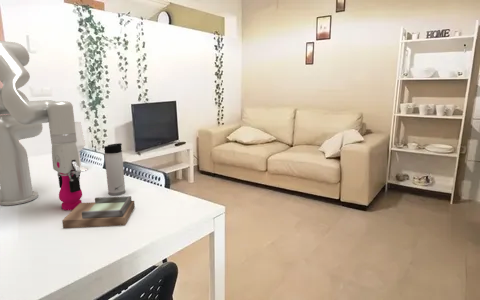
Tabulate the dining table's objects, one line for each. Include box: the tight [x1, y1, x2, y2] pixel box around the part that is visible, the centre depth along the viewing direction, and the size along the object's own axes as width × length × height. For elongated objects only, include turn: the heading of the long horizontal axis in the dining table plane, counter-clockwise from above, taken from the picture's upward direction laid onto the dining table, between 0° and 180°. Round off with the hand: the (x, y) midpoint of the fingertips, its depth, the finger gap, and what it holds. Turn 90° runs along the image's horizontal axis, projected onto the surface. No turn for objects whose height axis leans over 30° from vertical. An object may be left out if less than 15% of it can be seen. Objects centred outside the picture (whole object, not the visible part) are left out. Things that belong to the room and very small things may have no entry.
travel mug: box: [103, 142, 126, 197], centre depth 123 cm, size 6×7×20 cm
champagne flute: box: [74, 121, 88, 172], centre depth 154 cm, size 7×7×24 cm
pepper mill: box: [57, 162, 83, 211], centre depth 109 cm, size 7×7×20 cm
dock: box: [61, 195, 135, 229], centre depth 102 cm, size 18×14×4 cm
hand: (69, 188), depth 109 cm, fingers open, 6 cm apart
